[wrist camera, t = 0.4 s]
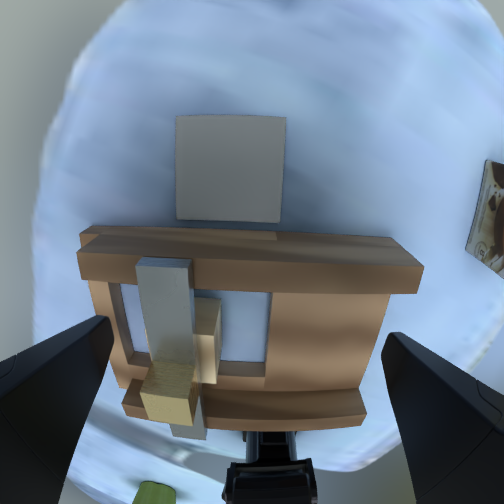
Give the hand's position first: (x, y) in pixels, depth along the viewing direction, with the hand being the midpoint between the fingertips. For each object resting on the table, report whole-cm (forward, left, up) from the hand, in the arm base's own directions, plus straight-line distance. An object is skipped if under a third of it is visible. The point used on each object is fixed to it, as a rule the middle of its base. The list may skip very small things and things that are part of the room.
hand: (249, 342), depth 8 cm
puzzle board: (-9, +1, -14) cm, 17 cm away
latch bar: (-9, +5, -8) cm, 13 cm away
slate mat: (+4, +2, -14) cm, 14 cm away
